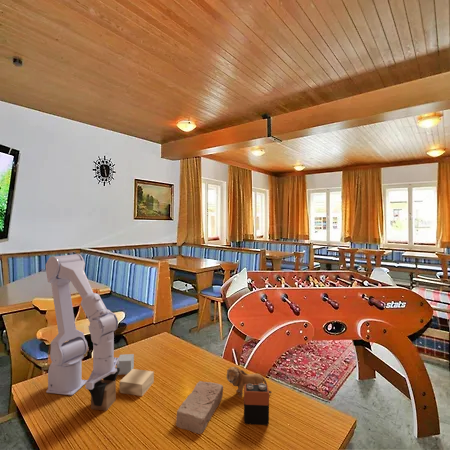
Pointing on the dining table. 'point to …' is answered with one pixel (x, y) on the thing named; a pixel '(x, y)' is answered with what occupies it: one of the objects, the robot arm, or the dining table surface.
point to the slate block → (125, 363)
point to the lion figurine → (243, 379)
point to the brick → (199, 407)
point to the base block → (137, 382)
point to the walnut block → (106, 396)
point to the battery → (256, 404)
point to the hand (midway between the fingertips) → (103, 399)
